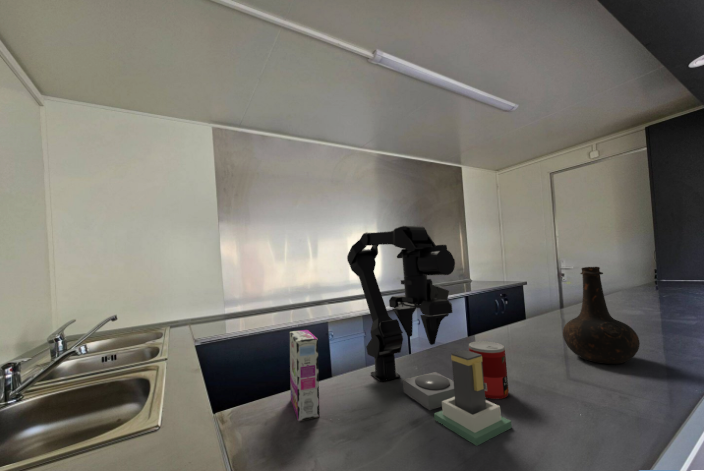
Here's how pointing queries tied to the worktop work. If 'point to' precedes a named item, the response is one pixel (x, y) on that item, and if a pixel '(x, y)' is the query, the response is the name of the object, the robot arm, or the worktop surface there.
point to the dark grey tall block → (468, 381)
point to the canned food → (492, 368)
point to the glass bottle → (599, 327)
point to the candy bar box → (304, 374)
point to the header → (473, 421)
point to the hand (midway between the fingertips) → (420, 340)
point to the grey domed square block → (429, 389)
